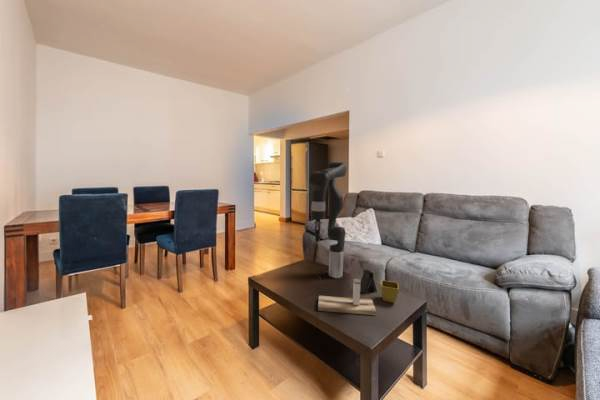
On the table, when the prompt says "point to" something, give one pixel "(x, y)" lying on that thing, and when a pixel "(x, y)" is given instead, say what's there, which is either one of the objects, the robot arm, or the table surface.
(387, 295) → the flower pot
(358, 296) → the fader knob
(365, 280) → the phone stand
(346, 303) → the wooden slider board
